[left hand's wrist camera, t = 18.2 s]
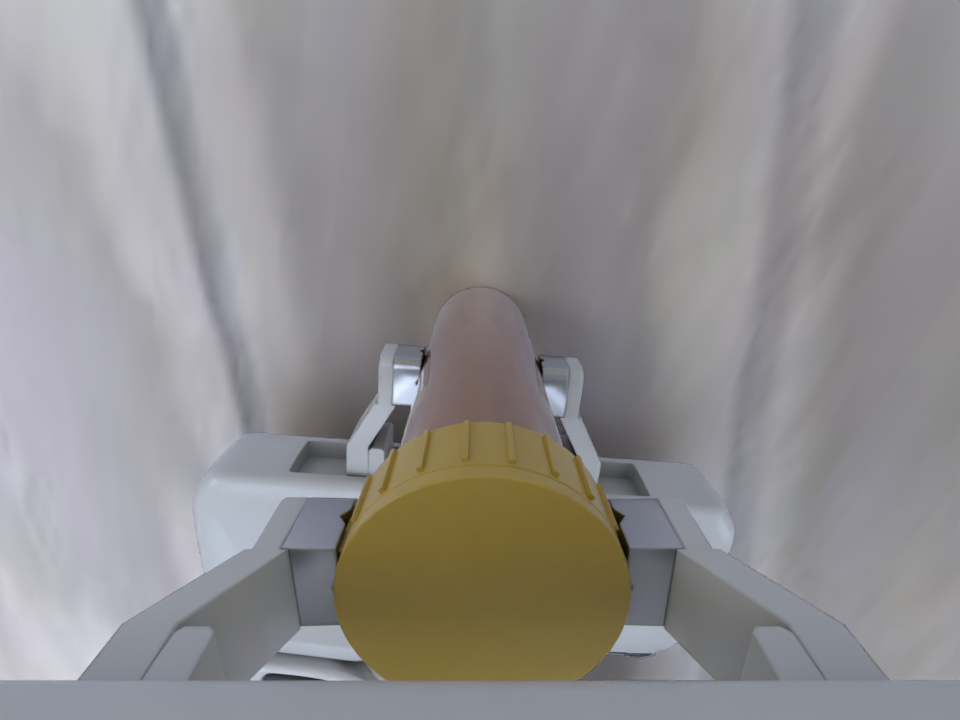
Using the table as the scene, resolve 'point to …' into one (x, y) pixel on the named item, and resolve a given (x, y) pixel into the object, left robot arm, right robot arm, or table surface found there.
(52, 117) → the table surface
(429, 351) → the brown piece
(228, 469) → the right robot arm
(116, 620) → the table surface
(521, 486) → the lid
